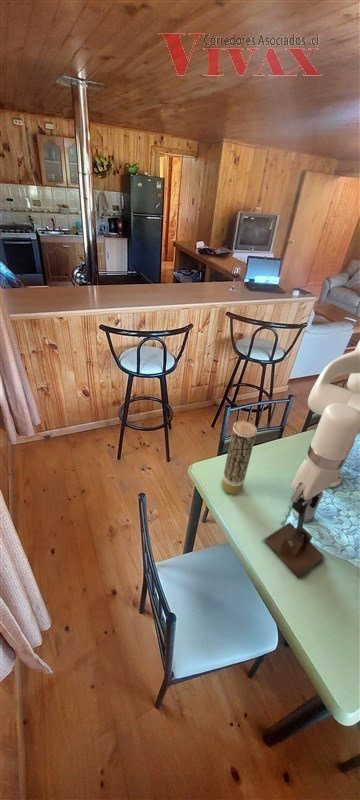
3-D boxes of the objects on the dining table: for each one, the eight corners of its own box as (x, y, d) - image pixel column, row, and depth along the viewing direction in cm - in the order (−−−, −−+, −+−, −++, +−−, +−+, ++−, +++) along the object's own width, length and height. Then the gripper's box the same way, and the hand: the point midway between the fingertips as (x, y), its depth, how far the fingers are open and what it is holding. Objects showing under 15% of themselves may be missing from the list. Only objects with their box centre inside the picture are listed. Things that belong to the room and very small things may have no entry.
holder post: (294, 491, 82) (307, 499, 79) (304, 485, 84) (316, 493, 81) (287, 541, 89) (298, 550, 87) (296, 534, 91) (307, 543, 88)
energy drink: (312, 511, 103) (324, 485, 96) (310, 525, 99) (323, 498, 92) (295, 505, 104) (306, 479, 98) (292, 518, 100) (303, 491, 93)
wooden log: (241, 496, 106) (256, 437, 92) (220, 492, 107) (232, 433, 92) (242, 481, 111) (257, 423, 97) (222, 477, 112) (234, 419, 98)
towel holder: (264, 541, 93) (270, 525, 89) (288, 525, 98) (294, 510, 94) (298, 578, 85) (305, 562, 81) (322, 558, 90) (330, 543, 86)
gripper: (334, 433, 80) (312, 484, 90) (287, 457, 72) (269, 510, 82) (362, 452, 75) (335, 504, 85) (315, 480, 67) (292, 533, 77)
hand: (303, 507), depth 84 cm, fingers closed on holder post, 3 cm apart
